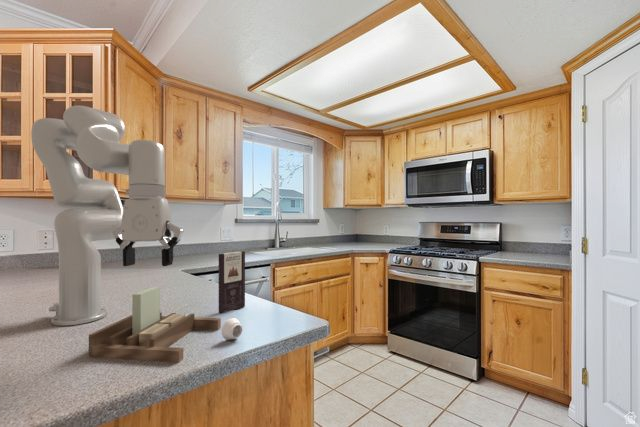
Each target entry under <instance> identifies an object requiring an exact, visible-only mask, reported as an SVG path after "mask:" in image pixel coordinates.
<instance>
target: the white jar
mask: <svg viewBox="0 0 640 427" xmlns="http://www.w3.org/2000/svg"><path fill="white" fill-rule="evenodd" d="M221 328H222V329H221V335H222V338H224V340H226V341H231V340H235V339H238V338H239V337H240V336H241V335H242V333H243V325H241V322H240V320H239V319H237V318H235V317H231V318H229V319H227V320H226V321H225V322H224V324H223V326H222V327H221Z"/></svg>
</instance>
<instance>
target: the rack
mask: <svg viewBox="0 0 640 427" xmlns="http://www.w3.org/2000/svg"><path fill="white" fill-rule="evenodd" d="M162 313H163V312H160V320H159V321H157V322H155V323H153V324H151V325H149V326H148V327H146V328H144V329H142V330H140V331H139V332H137V333H135V334H133V335H132V314H131V315H129V316H127V317H124V318H122V319H120V320H118V321H116V322H114V323H111V324H109V325H107V326H105V327H103V328H100V329H98V330H96V331H94V332H92V333H89V334H88V358H96V359H98V358H99V359H115V360H128V361H129V360H130V361H131V360H132V361H146V362H147V361H149V362H163V363H164V362H166V363H167V362H168V363H181V362H182V361H183V360H184V347H171V346H172V345H174V344H175V343H177V342H178V341H180V340H181V339H183V338H184V337H185V336H187V335H188V334H189V333H191V332H192V331H194V330H209V331H210V330H211V331H212V330H213V331H218V330H220V329H221V328H222V327H221V322H222V319H221V318H220V317H219V318H218V317H216V318H215V317H196V316H195V313H189V314H188V315H187V316H186V315H185V318H183V319H181V320H180V321H178V322H177V323H175V324H173V325H172V326H170V327H168V328H167V329H165V330H164V331H162V332H160V333H159V334H157V335H155V336H154V337H152V338H151V339H149V346H139V333H141V332H143V331H145V330H146V329H148V328H150V327H152V326H154V325H155V324H160V323H159V322H161V321H162V320H164V319H166V318H168V317H170V316H171V315H173V314H177V313H176V312H171V313H170V314H167V315H166V316H165V315H164V316H163V315H162Z"/></svg>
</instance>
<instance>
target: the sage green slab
mask: <svg viewBox="0 0 640 427" xmlns="http://www.w3.org/2000/svg"><path fill="white" fill-rule="evenodd" d="M131 297H132V306H131V307H132V314H131V315H132V335H133V334H135V333H137V332H139V331H140V330H142V329H144V328H146V327H148V326H149V325H151V324H153V323H155V322H157V321H159V320H160V313H161V286H151V287H149V288H146V289H143V290H140V291H138V292H134V293H132V296H131Z"/></svg>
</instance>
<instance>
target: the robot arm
mask: <svg viewBox="0 0 640 427" xmlns="http://www.w3.org/2000/svg"><path fill="white" fill-rule="evenodd" d="M30 133H31V134H30V135H31V144H32V147H33V150H34V151H35V154H36V156H37V157H38V159H39V161H40V163H41V164H42V166H43V167H44V169H45V172H46V175H47V179H48V183H49V186H50V189H51V193H52V196H53V199H54V202H55V203H56V205H57V206H58V207H61V208H63V209H64V210H62V211H60V212H58V213H57V214H56V216H55V218H54V221H53V224H54V225H53V226H54V231H55V236H56V237H55V238H56V242H57V246H58V248H57V249H58V302H54V303H53V305H52V306H49V307H48V311H49V312H55V316H53V317H51V320H50V321H51V324H52V325H53V326H58V327H59V326H60V327H61V326H63V327H65V326H75V325H82V324H88V323H91V322H95V321H98V320H100V319H103V318H104V317H106V316H107V314H108V310H107V309H106V308H104V307H102V301H101V300H102V294H101V293H102V292H101V290H102V257H101V254H100V253H101V252H100V251H99V250H98V249H97V247H95V246H94V244H93V243H92V242H95V241H105V240H106V241H108V240H115V243H117V245H119V249H120V250H122V266H123V267H129V266H134V265H135V264H136V249H135V247H134V246H135V244H136V243H137V242H157V241H158V242H159V244H161V245H162V247H163V248H162V249H161V266H162V267H168V266H171V265H173V262H174V249H175V247H176V245H177V244H179V242H181V238H182V237H183V234H184V229H183V228H181V227H180V226H179V227H178V226H177V225H175V224H173V223H172V218H171V216H172V215H171V211H170V209H171V208H170V205H169V202H168V198H167V199H166V182H165V181H166V179H165V177H166V168H165V167H166V166H165V164H166V163H165V160H166V158H165V147H164V146H163V144H161V143H160V142H158V141H154V140H148V139H135V140H132V141H131V142H130V143H129V144H127V143H121V142H120V141H121V140H122V139H123V138H124V135H125V133H126V126H125V123H124V121H123V119H122V118H121V117H120V116H118V115H117V114H115V113H112V112H108V111H105V110H102V109H101V110H100V109H97V108H94V107H90V106H87V105H72V106H69V107H68V108H66V110H65V111H64V112H63V116H62V119H60V118H54V117H52V118H51V117H43V118H38V119H36V120H35V121H34V123H33V124H32V126H31V131H30ZM67 150H71V151H76V154H77V156H78V158H79V159H80V160H81V161H82V163H84V164H85V165H86V166H87V167H88V168H90V169H91V170H94V171H96V172H100V173H105V174H106V173H108V174H115V175H125V176H128V189H126V188H125V191H124V192H125V195H127V196H128V198H125V200H124V204H123V203H122V200H121V197H120V194H119V192H118V189H117V187H116V186H115V185H114V183H112V182H110V181H108V180H105V179H99V178H97V179H96V178H89V177H87V176H86V175H85V174H84V171H83V170H84V169H83V167H82V165H81V164H80V161H78V160H77V159H76V158H75V157H74V156H73V155H72V154H71V153H70V152H68V151H67ZM172 232H173V236H172Z"/></svg>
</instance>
